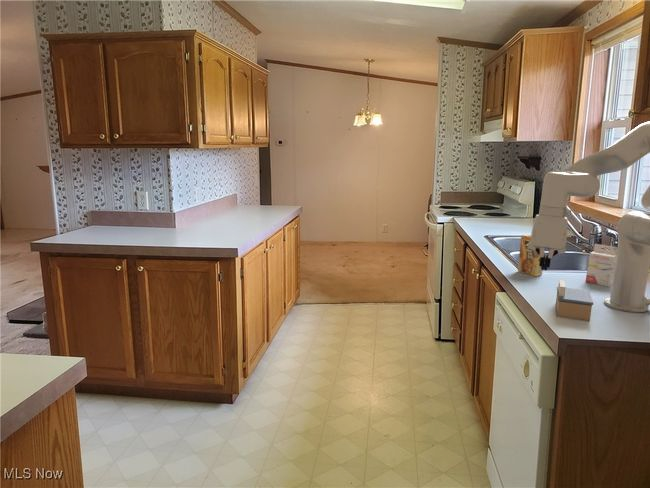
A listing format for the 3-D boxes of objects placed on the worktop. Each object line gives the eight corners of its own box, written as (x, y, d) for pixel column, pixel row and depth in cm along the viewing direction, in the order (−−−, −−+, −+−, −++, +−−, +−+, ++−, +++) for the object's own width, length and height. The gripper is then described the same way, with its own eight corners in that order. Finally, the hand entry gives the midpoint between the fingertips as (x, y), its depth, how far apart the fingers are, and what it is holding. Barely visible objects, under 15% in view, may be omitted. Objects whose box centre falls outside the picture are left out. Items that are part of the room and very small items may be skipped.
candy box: (542, 275, 200) (546, 238, 197) (536, 276, 198) (540, 239, 195) (523, 270, 207) (527, 234, 204) (516, 271, 205) (520, 235, 202)
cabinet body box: (585, 308, 161) (587, 293, 160) (589, 321, 150) (591, 305, 148) (555, 304, 165) (557, 290, 164) (557, 316, 153) (559, 301, 152)
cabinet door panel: (588, 292, 160) (590, 281, 159) (592, 305, 148) (594, 293, 147) (556, 288, 164) (558, 277, 163) (558, 300, 152) (560, 288, 151)
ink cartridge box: (584, 282, 192) (590, 245, 189) (588, 279, 196) (593, 243, 193) (609, 286, 187) (615, 248, 184) (612, 284, 191) (618, 246, 187)
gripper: (578, 213, 154) (569, 270, 158) (526, 208, 160) (519, 263, 164) (580, 216, 148) (570, 275, 151) (526, 211, 153) (518, 268, 157)
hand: (543, 269), depth 158 cm, fingers closed
